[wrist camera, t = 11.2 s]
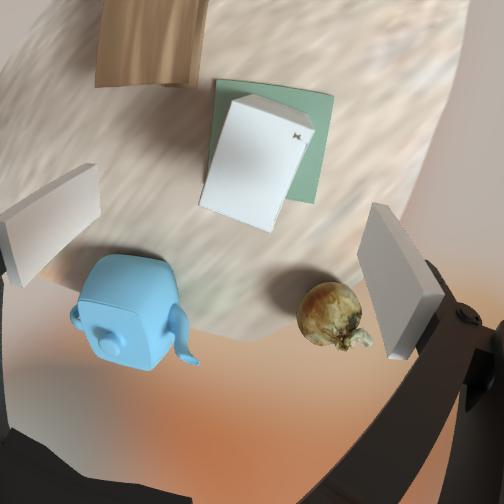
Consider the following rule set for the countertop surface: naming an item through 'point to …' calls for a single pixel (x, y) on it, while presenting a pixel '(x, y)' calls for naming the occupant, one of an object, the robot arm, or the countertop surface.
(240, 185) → the small box
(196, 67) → the screen
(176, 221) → the countertop surface
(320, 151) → the mat
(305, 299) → the onion
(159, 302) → the teapot
